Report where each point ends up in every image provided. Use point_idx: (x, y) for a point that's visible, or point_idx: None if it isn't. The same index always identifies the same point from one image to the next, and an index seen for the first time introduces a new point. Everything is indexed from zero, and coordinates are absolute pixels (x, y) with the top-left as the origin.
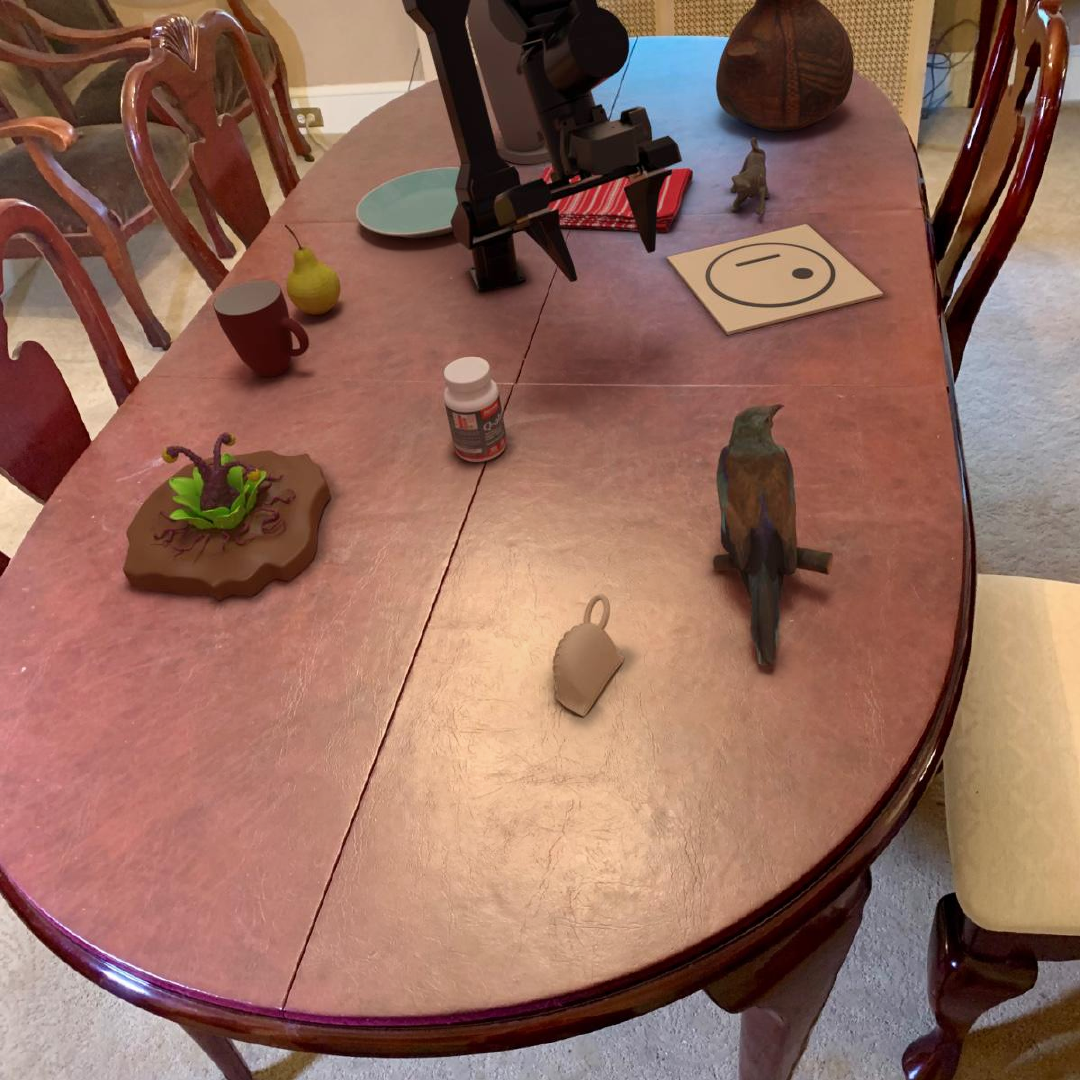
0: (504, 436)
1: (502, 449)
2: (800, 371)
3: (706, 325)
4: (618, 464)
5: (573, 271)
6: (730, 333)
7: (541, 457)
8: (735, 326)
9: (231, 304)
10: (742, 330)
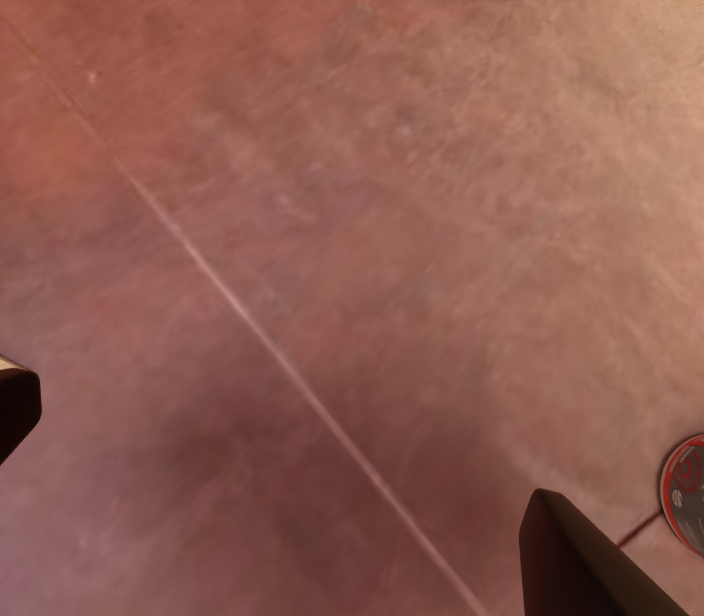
0: (698, 447)
1: (699, 435)
2: (65, 175)
3: (27, 442)
4: (522, 226)
5: (571, 517)
6: (28, 370)
7: (629, 359)
8: None
9: None
10: (4, 358)
